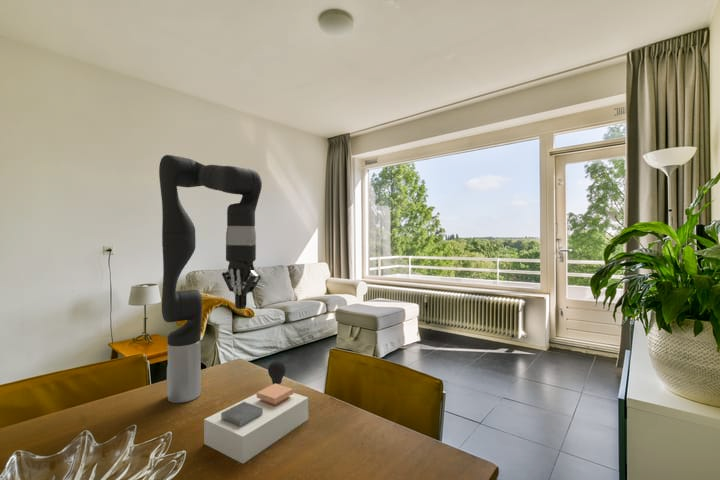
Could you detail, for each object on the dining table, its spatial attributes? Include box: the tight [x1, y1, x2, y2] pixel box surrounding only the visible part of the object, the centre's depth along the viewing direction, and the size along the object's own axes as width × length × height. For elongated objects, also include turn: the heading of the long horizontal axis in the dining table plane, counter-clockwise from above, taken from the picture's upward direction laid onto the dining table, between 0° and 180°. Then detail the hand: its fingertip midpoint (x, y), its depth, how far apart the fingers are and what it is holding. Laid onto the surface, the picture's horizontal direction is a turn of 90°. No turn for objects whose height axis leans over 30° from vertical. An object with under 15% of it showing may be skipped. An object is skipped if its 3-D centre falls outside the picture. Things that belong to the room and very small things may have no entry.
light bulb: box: [267, 359, 287, 385], centre depth 112 cm, size 6×6×10 cm
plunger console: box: [203, 392, 309, 464], centre depth 89 cm, size 14×22×6 cm, turn 148°
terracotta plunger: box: [256, 383, 294, 406], centre depth 94 cm, size 7×7×6 cm
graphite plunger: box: [221, 402, 263, 427], centre depth 85 cm, size 7×7×6 cm
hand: (240, 308), depth 92 cm, fingers closed
